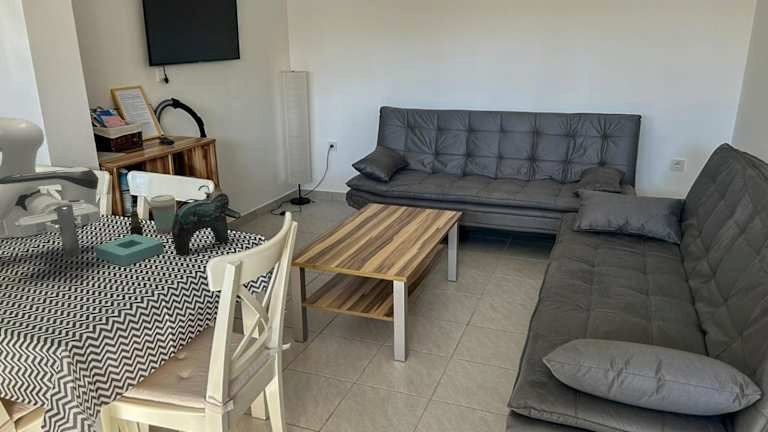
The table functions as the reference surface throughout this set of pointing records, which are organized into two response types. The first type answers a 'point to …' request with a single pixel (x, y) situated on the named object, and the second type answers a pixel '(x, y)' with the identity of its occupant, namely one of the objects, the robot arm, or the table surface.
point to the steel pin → (68, 231)
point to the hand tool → (135, 224)
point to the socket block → (129, 250)
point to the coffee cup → (163, 212)
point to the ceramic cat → (200, 219)
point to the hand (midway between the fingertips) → (68, 227)
